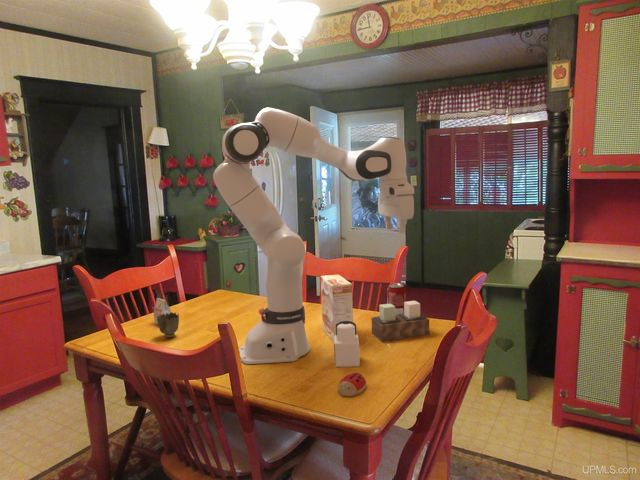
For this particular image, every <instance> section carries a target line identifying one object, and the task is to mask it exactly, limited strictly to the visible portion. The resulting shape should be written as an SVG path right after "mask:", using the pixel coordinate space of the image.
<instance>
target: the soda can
mask: <svg viewBox="0 0 640 480" xmlns="http://www.w3.org/2000/svg"><path fill="white" fill-rule="evenodd" d="M404 286H405V285H404V284H403V283H396V282H395V283H390V284H388V288H387V290H386V291H387V293H386V295H387V297H386V299H387V303H386V304H392V305H393V306H395V315H397V314H402V313H404V302H407V301H406V288H405V287H404Z"/></svg>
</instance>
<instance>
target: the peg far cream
mask: <svg viewBox="0 0 640 480" xmlns="http://www.w3.org/2000/svg"><path fill="white" fill-rule="evenodd" d="M420 314H421V303H420V302H418V301H417V300H409V301H406V302H404V315H405V316H406V317H408V318H416V317H420Z"/></svg>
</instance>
